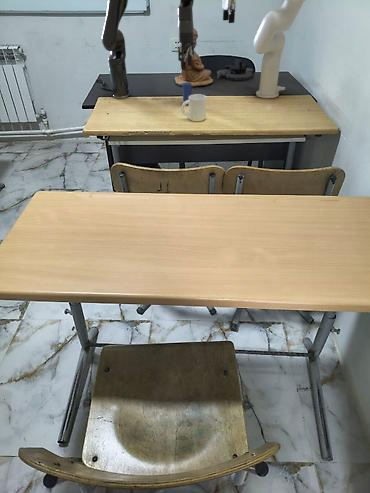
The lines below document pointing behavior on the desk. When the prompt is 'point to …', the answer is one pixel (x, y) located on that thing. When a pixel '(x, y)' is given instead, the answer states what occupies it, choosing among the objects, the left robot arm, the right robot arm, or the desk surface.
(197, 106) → the mug
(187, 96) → the can
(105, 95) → the desk surface
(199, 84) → the sculpture
